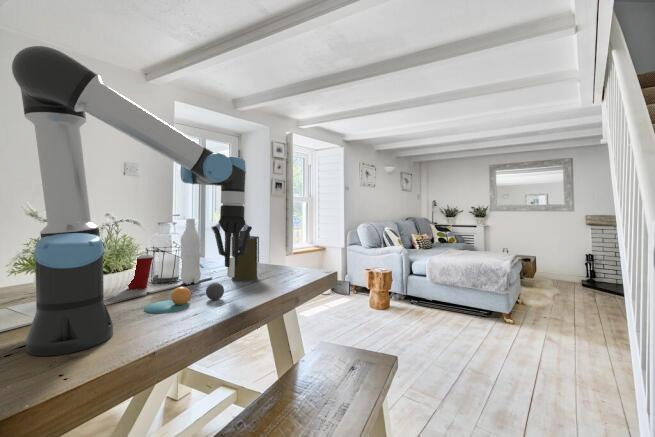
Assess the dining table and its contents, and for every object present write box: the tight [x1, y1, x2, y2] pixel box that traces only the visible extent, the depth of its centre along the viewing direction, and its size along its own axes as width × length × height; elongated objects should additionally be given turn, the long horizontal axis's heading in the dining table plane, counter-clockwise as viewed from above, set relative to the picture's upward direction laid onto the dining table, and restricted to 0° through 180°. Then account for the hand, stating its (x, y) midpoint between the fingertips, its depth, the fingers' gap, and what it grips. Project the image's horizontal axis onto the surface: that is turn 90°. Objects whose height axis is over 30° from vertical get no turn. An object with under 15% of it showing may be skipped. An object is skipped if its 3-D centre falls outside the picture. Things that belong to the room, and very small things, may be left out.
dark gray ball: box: [205, 282, 225, 301], centre depth 103 cm, size 6×6×6 cm
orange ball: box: [170, 286, 192, 305], centre depth 97 cm, size 6×6×6 cm
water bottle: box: [180, 218, 202, 285], centre depth 124 cm, size 7×7×25 cm
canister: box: [231, 229, 260, 283], centre depth 132 cm, size 11×10×20 cm
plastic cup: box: [127, 254, 155, 291], centre depth 117 cm, size 11×11×12 cm
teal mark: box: [143, 299, 190, 314], centre depth 95 cm, size 12×12×1 cm
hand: (230, 276), depth 105 cm, fingers closed
